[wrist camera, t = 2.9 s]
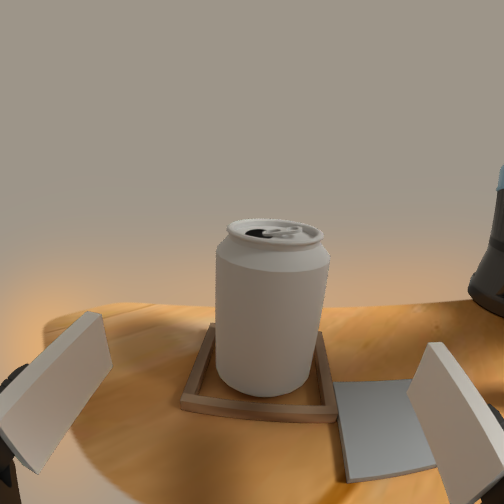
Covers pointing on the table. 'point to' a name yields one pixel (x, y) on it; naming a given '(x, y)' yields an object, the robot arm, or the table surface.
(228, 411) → the brown square frame
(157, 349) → the table surface
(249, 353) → the can
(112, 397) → the table surface
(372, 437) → the coaster
